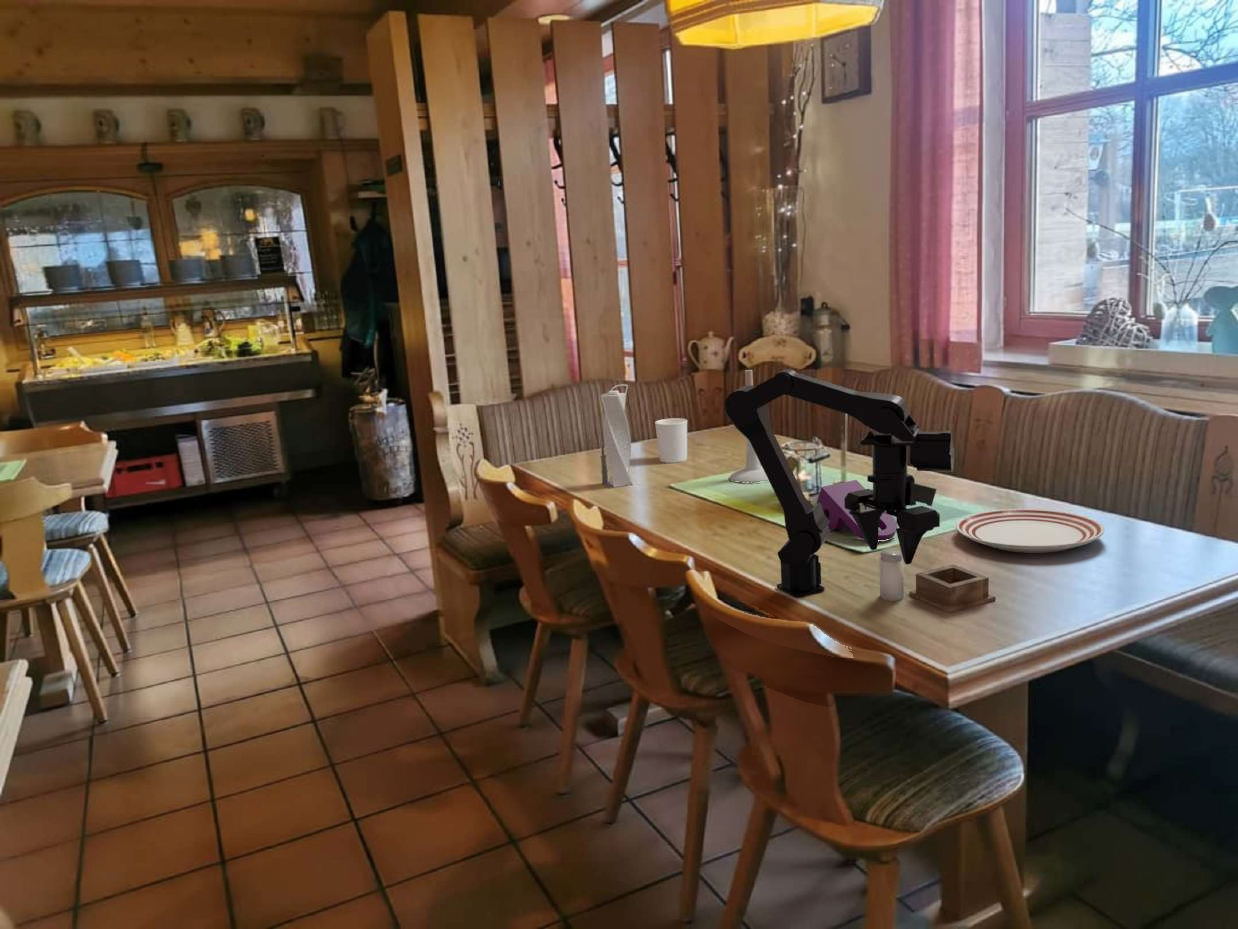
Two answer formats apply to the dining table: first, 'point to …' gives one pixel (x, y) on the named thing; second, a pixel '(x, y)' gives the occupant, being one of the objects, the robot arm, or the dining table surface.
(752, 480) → the candlestick
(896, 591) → the salt shaker
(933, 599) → the box
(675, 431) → the white cup
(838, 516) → the mounting bracket
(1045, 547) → the dinner plate
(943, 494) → the dining table surface
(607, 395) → the skyscraper
